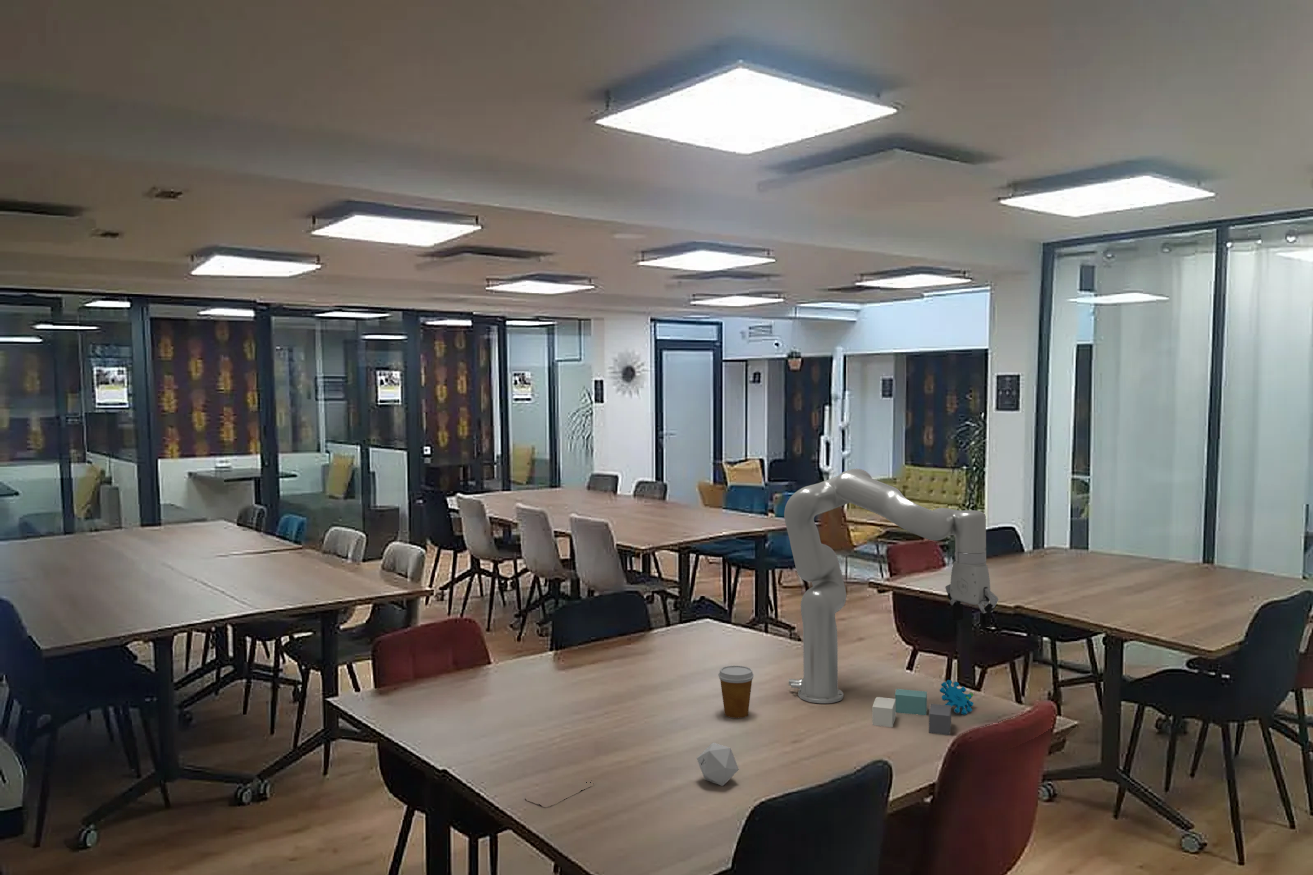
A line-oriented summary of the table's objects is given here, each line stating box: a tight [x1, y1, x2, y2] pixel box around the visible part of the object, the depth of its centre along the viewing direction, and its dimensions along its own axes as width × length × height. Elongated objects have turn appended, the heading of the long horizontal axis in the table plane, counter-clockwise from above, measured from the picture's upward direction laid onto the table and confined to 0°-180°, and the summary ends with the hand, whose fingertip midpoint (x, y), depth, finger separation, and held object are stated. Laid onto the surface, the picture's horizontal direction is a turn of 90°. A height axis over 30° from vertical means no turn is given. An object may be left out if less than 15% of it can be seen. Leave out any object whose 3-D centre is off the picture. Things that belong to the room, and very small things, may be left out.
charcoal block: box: [928, 703, 952, 736], centre depth 230 cm, size 8×5×5 cm, turn 160°
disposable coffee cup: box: [717, 665, 755, 719], centre depth 242 cm, size 10×10×12 cm
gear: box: [939, 679, 974, 716], centre depth 244 cm, size 11×6×10 cm
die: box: [696, 742, 740, 787], centre depth 201 cm, size 8×9×10 cm
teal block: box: [894, 688, 928, 716], centre depth 243 cm, size 8×5×5 cm, turn 71°
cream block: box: [871, 696, 897, 728], centre depth 236 cm, size 8×5×5 cm, turn 159°
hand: (971, 623), depth 235 cm, fingers open, 9 cm apart
